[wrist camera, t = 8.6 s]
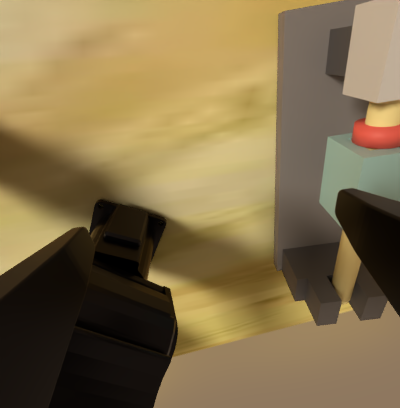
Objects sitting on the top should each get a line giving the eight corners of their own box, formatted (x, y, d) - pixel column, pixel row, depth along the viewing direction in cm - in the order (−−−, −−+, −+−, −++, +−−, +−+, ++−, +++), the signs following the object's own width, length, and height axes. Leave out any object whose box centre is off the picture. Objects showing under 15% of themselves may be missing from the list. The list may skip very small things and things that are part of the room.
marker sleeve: (370, 194, 18) (410, 225, 15) (319, 202, 18) (347, 234, 15) (388, 127, 15) (441, 146, 12) (327, 136, 16) (364, 158, 12)
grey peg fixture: (347, 252, 26) (397, 316, 20) (273, 262, 27) (300, 327, 20) (409, -10, 15) (573, -57, 9) (278, 13, 15) (342, -16, 9)
